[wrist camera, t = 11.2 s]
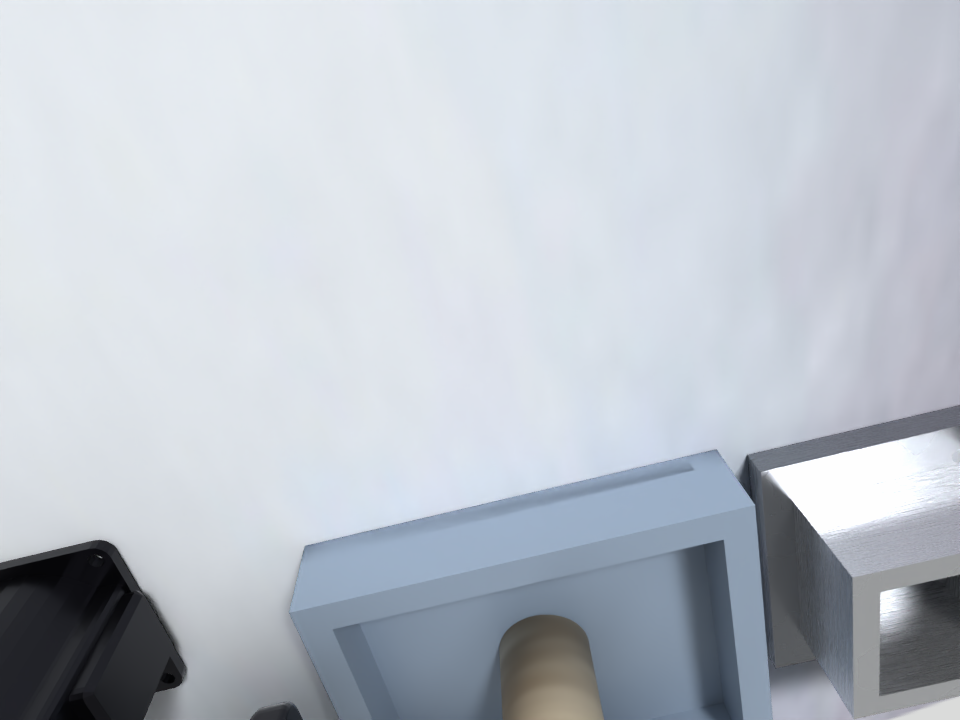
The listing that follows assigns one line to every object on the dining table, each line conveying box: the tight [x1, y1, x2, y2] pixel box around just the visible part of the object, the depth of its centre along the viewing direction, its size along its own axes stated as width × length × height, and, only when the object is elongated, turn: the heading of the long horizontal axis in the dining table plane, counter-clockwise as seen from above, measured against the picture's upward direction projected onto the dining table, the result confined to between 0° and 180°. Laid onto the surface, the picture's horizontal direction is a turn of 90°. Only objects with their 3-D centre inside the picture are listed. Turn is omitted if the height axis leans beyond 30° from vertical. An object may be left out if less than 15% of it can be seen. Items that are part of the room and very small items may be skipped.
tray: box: [289, 449, 773, 720], centre depth 24 cm, size 14×12×3 cm
